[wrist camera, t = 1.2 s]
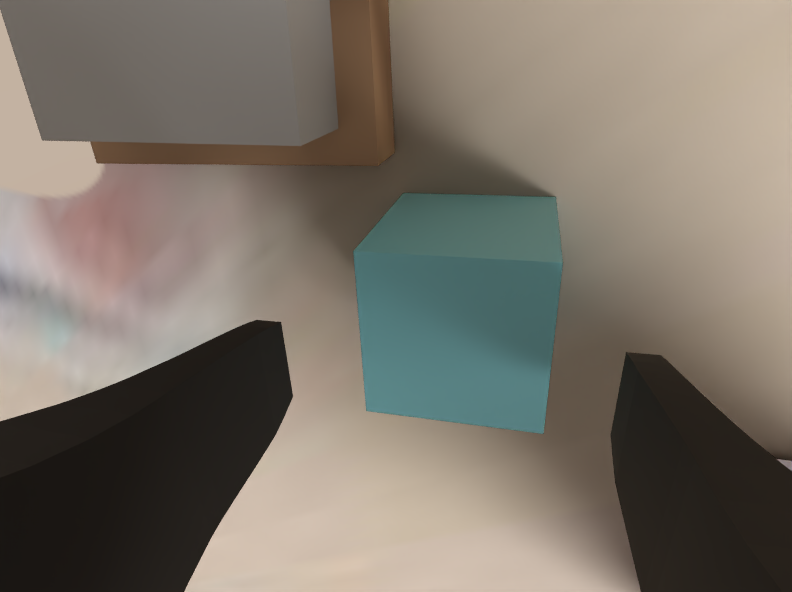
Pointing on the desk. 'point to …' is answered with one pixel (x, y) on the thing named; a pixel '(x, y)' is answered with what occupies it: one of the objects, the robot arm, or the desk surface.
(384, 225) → the teal block
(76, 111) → the gray slab
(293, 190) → the desk surface
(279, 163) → the walnut slab
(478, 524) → the desk surface
